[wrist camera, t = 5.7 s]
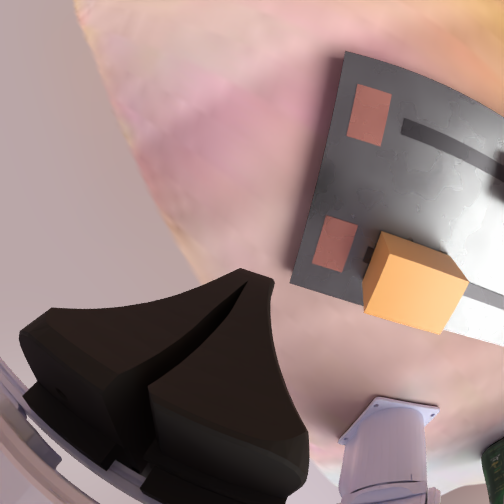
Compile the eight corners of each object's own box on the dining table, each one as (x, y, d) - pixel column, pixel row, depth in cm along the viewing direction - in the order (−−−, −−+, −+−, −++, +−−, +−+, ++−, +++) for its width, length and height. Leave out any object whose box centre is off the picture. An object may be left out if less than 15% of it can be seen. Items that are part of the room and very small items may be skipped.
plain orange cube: (427, 302, 16) (439, 334, 13) (362, 281, 17) (363, 312, 14) (450, 255, 14) (469, 281, 11) (381, 230, 15) (389, 253, 12)
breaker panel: (514, 340, 16) (520, 351, 14) (293, 273, 20) (289, 283, 19) (579, 185, 9) (590, 190, 8) (345, 58, 13) (345, 50, 12)
